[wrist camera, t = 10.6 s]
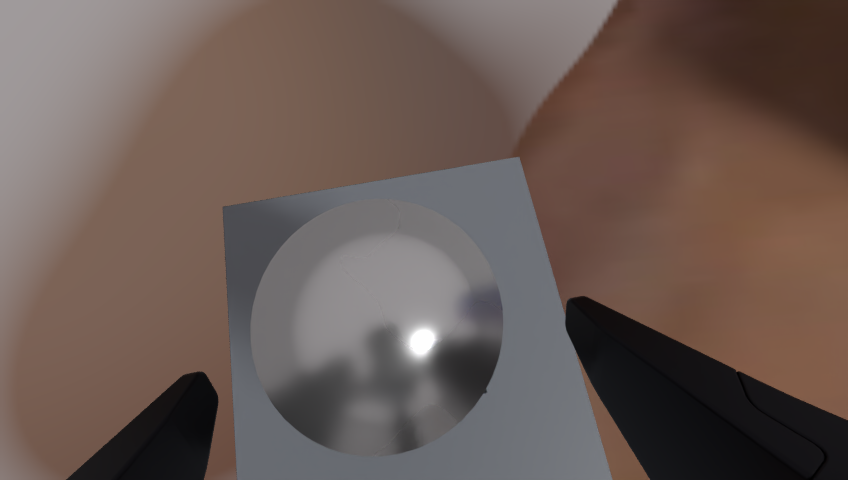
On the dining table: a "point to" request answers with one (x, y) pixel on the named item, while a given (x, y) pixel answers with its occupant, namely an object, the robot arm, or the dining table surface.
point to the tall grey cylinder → (376, 327)
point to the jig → (515, 371)
